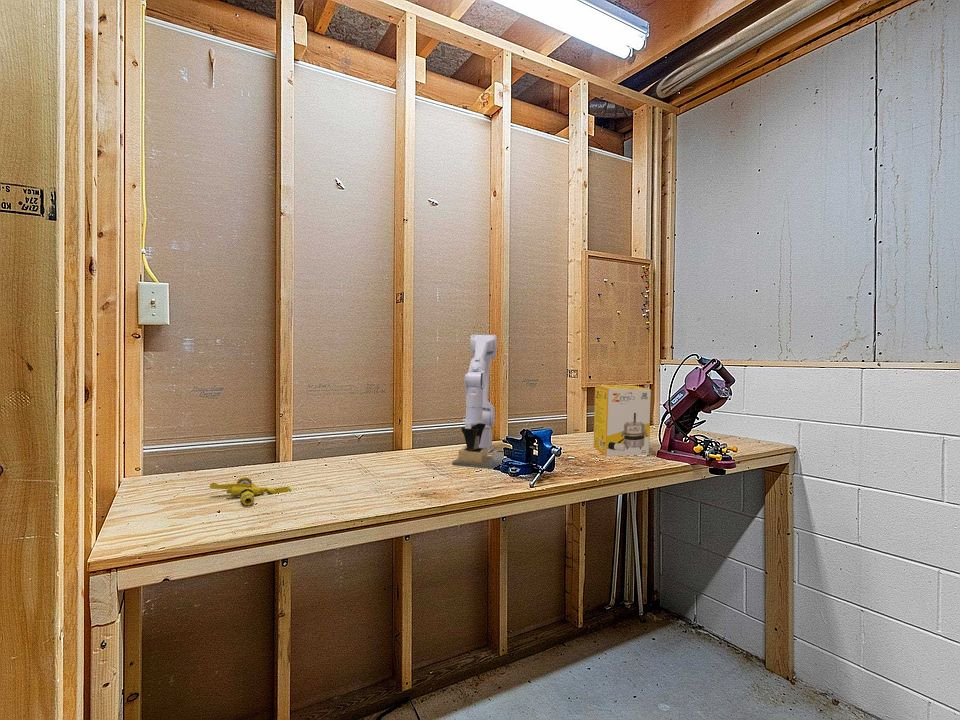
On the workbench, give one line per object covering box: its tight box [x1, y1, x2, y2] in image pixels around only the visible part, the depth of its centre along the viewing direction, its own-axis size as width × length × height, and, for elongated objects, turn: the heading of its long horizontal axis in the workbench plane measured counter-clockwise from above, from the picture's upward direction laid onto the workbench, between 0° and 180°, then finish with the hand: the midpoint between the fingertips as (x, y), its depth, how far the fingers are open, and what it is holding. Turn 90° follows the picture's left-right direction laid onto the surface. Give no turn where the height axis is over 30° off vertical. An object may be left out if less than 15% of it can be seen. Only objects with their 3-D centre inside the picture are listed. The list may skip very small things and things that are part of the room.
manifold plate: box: [452, 445, 504, 470], centre depth 170 cm, size 12×18×4 cm, turn 75°
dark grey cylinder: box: [467, 435, 479, 452], centre depth 171 cm, size 4×4×8 cm
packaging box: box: [593, 384, 652, 457], centre depth 193 cm, size 16×16×25 cm
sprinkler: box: [209, 476, 292, 506], centre depth 129 cm, size 19×4×15 cm
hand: (473, 446), depth 171 cm, fingers open, 7 cm apart
